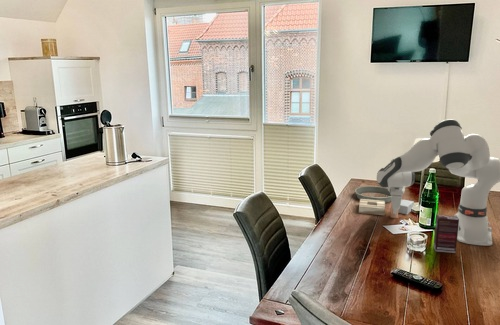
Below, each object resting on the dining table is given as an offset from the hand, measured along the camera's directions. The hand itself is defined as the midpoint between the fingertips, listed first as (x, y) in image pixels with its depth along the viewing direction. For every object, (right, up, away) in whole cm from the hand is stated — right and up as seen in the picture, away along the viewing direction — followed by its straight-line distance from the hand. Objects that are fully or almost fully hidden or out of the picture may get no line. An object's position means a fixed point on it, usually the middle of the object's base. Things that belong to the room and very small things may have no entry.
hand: (394, 211), depth 216 cm
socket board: (-9, -1, +12) cm, 15 cm away
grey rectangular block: (+9, -1, +10) cm, 14 cm away
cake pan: (-1, +4, +34) cm, 34 cm away
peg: (0, -3, +1) cm, 3 cm away
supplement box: (+8, -13, -40) cm, 42 cm away
